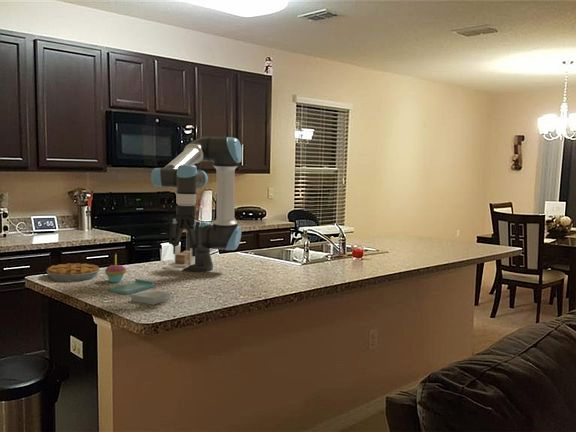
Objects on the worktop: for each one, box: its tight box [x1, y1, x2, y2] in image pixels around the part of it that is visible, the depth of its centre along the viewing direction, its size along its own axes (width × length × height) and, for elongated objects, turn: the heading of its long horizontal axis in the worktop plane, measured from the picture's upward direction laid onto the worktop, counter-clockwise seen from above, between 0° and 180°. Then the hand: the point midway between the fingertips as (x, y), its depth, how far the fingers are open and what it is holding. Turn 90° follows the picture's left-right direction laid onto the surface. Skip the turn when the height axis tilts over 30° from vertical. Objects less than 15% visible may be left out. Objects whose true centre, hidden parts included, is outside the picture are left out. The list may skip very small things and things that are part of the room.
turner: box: [161, 249, 190, 272], centre depth 205 cm, size 22×7×4 cm, turn 172°
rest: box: [109, 278, 155, 295], centre depth 214 cm, size 16×9×2 cm, turn 156°
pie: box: [45, 262, 100, 282], centre depth 232 cm, size 22×22×5 cm
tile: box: [130, 289, 171, 306], centre depth 198 cm, size 3×10×10 cm
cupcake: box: [104, 254, 127, 283], centre depth 226 cm, size 9×8×12 cm
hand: (184, 263), depth 207 cm, fingers closed on turner, 6 cm apart
